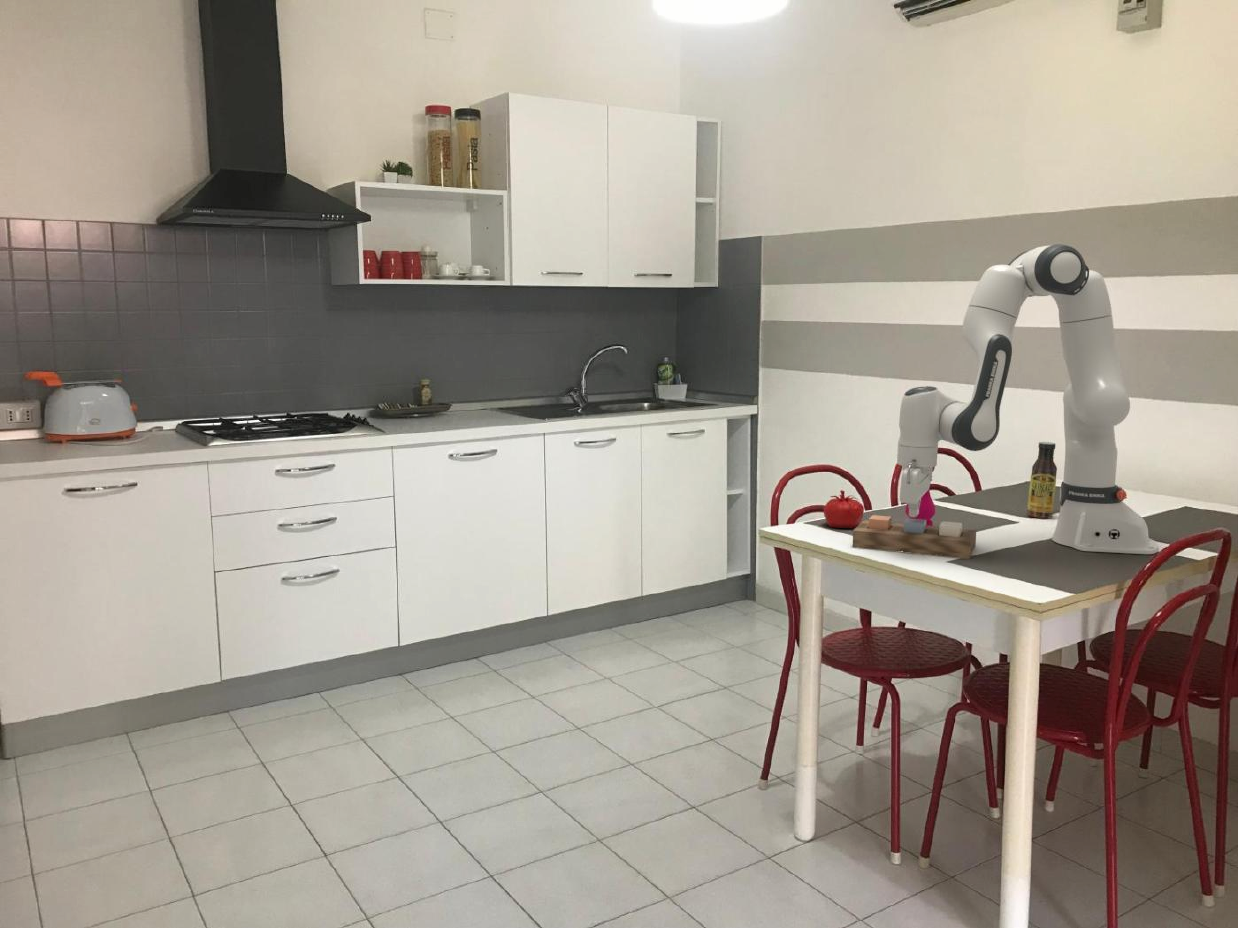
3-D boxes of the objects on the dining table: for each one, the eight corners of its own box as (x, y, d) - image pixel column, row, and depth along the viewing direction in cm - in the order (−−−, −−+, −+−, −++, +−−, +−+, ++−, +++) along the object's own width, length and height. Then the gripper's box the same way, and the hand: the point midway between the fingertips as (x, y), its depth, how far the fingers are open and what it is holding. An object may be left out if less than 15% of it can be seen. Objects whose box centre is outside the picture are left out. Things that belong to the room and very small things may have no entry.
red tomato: (860, 532, 250) (862, 496, 248) (820, 528, 253) (821, 493, 251) (865, 523, 259) (867, 488, 257) (826, 519, 262) (827, 485, 261)
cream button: (961, 537, 231) (962, 522, 231) (958, 541, 227) (959, 526, 227) (941, 535, 233) (942, 521, 233) (938, 540, 229) (939, 525, 229)
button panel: (975, 546, 234) (976, 530, 233) (969, 558, 223) (970, 541, 223) (863, 535, 245) (863, 520, 244) (852, 547, 234) (853, 530, 234)
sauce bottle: (1026, 518, 264) (1031, 443, 260) (1026, 513, 270) (1031, 440, 266) (1053, 520, 261) (1059, 444, 258) (1053, 515, 267) (1058, 441, 264)
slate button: (925, 534, 235) (926, 519, 234) (922, 538, 231) (923, 523, 230) (906, 532, 237) (907, 518, 236) (903, 536, 233) (903, 521, 232)
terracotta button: (890, 531, 238) (891, 516, 237) (887, 535, 234) (887, 520, 234) (872, 529, 240) (872, 515, 239) (868, 533, 236) (868, 518, 235)
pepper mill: (935, 531, 249) (939, 452, 246) (905, 530, 251) (909, 451, 248) (932, 524, 256) (936, 447, 253) (903, 523, 258) (907, 447, 255)
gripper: (923, 465, 220) (920, 526, 222) (937, 452, 238) (934, 509, 241) (894, 462, 223) (891, 523, 225) (910, 450, 241) (907, 506, 243)
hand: (913, 515), depth 233 cm, fingers closed
